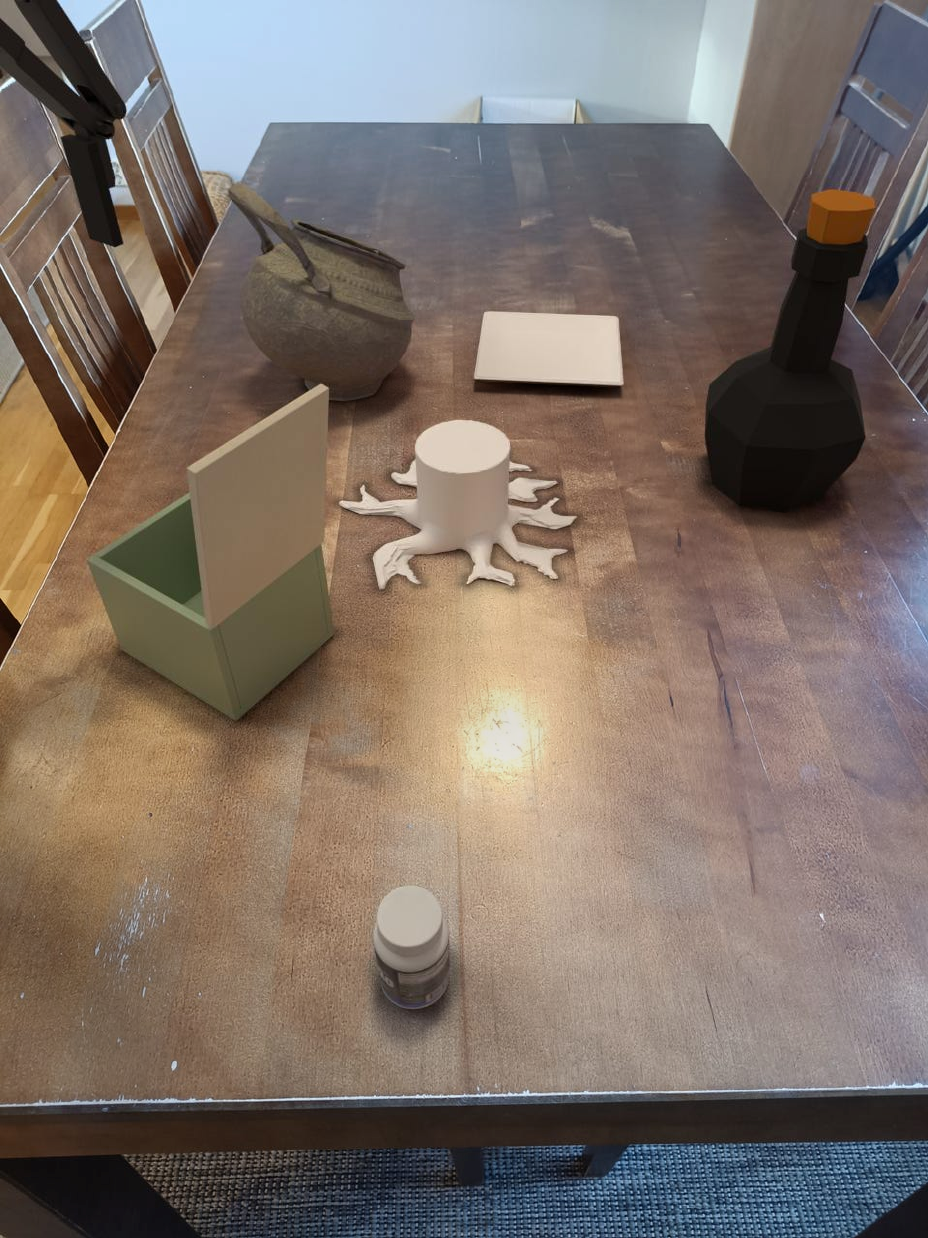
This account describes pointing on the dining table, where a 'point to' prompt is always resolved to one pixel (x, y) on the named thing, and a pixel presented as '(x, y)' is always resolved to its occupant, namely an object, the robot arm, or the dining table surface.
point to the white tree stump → (463, 503)
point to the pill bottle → (412, 947)
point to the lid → (260, 503)
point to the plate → (549, 349)
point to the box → (175, 619)
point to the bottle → (795, 376)
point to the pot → (323, 303)
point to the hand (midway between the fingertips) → (22, 275)
